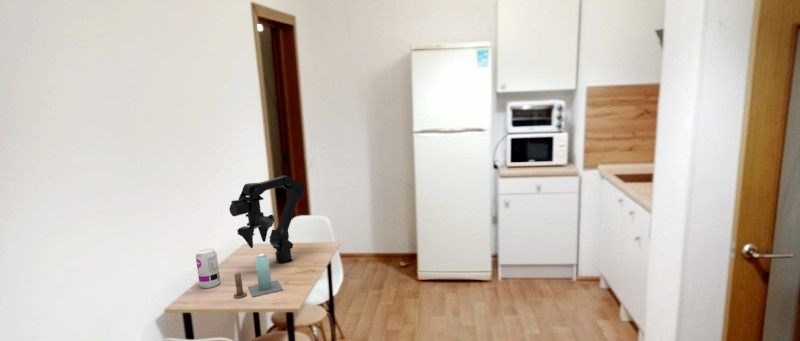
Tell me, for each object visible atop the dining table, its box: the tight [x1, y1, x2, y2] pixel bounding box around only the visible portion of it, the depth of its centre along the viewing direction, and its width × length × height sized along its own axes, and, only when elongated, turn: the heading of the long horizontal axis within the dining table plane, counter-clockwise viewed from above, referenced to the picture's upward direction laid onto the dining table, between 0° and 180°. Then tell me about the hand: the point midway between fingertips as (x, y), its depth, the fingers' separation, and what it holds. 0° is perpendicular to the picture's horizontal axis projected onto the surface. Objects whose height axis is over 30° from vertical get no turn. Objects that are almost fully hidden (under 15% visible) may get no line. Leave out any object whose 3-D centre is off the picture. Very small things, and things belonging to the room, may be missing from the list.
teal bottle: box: [254, 253, 272, 290], centre depth 186 cm, size 5×5×14 cm
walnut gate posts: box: [233, 272, 248, 300], centre depth 188 cm, size 21×5×9 cm, turn 161°
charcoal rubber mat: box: [247, 279, 284, 298], centre depth 187 cm, size 12×12×1 cm
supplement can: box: [195, 248, 221, 289], centre depth 195 cm, size 8×8×15 cm
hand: (258, 244), depth 209 cm, fingers open, 9 cm apart
